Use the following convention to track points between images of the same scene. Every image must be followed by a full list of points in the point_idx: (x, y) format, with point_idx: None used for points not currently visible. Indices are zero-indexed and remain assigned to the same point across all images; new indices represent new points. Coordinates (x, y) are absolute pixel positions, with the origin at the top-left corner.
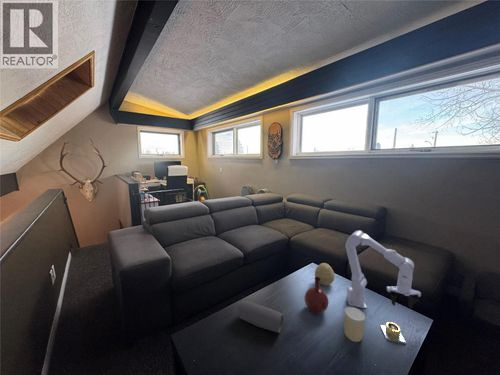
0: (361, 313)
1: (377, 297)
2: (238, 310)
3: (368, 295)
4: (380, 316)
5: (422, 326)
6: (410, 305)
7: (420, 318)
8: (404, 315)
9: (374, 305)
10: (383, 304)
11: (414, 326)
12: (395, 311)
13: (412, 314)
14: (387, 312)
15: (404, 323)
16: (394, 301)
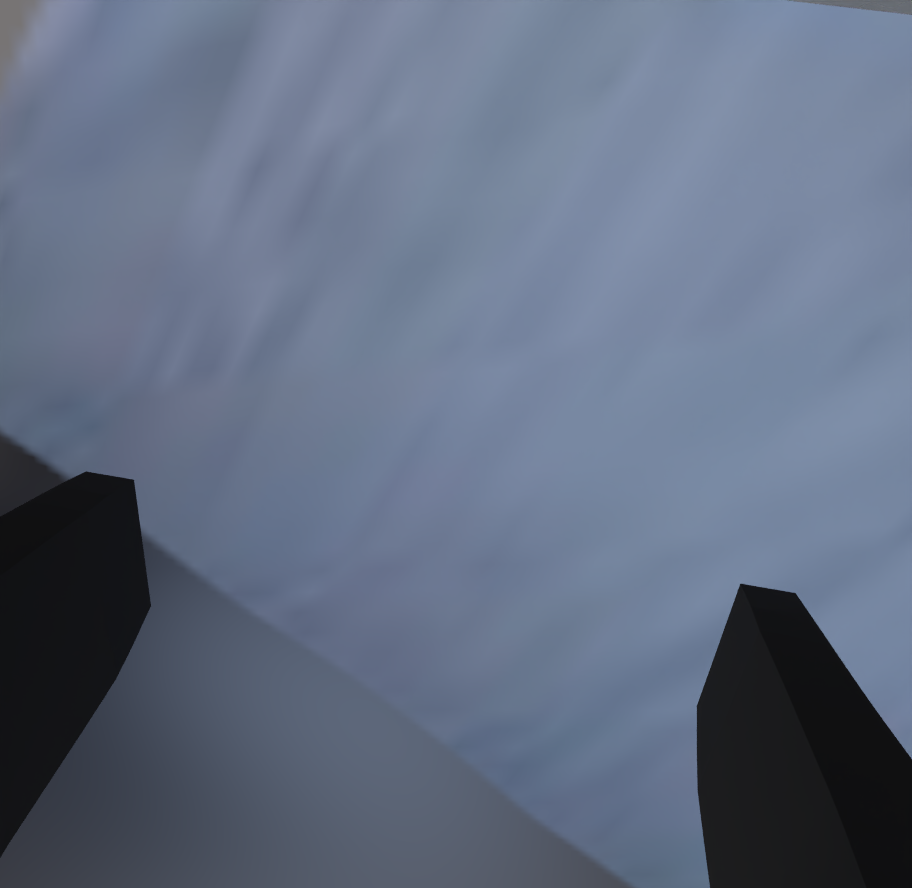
0: None
1: (578, 833)
2: None
3: None
4: (880, 412)
5: (49, 215)
6: (65, 569)
7: (16, 424)
8: (291, 475)
9: None
10: (566, 703)
11: (219, 192)
12: (422, 559)
13: None
14: (615, 529)
15: (407, 256)
16: (867, 767)
